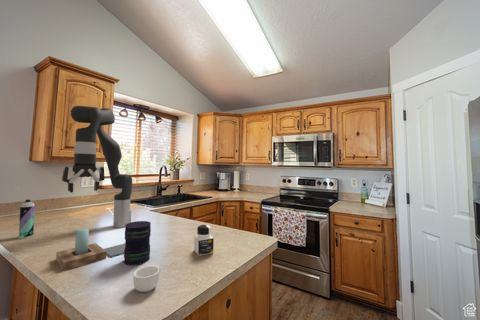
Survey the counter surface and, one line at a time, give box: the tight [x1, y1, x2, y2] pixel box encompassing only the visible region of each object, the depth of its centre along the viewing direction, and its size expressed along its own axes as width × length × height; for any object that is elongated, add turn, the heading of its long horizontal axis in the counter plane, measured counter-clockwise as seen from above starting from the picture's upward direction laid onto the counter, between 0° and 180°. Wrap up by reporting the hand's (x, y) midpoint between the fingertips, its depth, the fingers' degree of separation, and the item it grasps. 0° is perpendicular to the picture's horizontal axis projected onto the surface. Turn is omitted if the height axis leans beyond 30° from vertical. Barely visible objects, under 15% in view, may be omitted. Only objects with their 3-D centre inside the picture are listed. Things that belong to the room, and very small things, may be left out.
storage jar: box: [123, 220, 152, 266], centre depth 88 cm, size 10×10×15 cm
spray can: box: [18, 199, 36, 240], centre depth 113 cm, size 6×6×20 cm
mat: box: [103, 242, 125, 258], centre depth 97 cm, size 11×11×1 cm
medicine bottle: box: [193, 224, 214, 257], centre depth 97 cm, size 7×7×12 cm
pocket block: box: [55, 242, 107, 272], centre depth 88 cm, size 14×14×3 cm
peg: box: [74, 228, 90, 256], centre depth 88 cm, size 4×4×12 cm
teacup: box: [133, 265, 161, 293], centre depth 69 cm, size 10×8×5 cm
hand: (83, 191), depth 89 cm, fingers open, 8 cm apart
